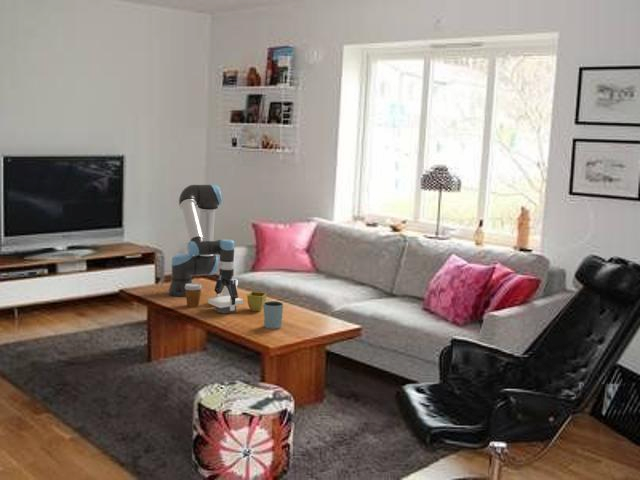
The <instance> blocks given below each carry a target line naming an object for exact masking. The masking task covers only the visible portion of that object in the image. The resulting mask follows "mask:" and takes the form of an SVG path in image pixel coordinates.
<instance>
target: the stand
mask: <svg viewBox="0 0 640 480" xmlns="http://www.w3.org/2000/svg"><path fill="white" fill-rule="evenodd" d="M214 309H215V311H216V312H218V313H221V314H229V313H235V312H237V305H236V306H235V310H233V311H230V307H223V308H219V307H216V306H215V308H214Z"/></svg>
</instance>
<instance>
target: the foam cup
mask: <svg viewBox="0 0 640 480" xmlns="http://www.w3.org/2000/svg"><path fill="white" fill-rule="evenodd" d="M232 280H235V284H236V289H237V290H238V286H239V280H238V279H237V278H232ZM223 296H230V294H229V291H228V288H227V287H226V286H224V288H223V290H222V297H223Z"/></svg>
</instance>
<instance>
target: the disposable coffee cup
mask: <svg viewBox="0 0 640 480" xmlns="http://www.w3.org/2000/svg"><path fill="white" fill-rule="evenodd" d="M184 288H185V291H186V296H185V297H186V298H185V299H186V307H188V308H198V307H200V301H201V300H200V299H201V293H202V288H203V286H202V284H201V283H198V282H196V283H195V282H192V283H188V284H186V285H185V287H184Z"/></svg>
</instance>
